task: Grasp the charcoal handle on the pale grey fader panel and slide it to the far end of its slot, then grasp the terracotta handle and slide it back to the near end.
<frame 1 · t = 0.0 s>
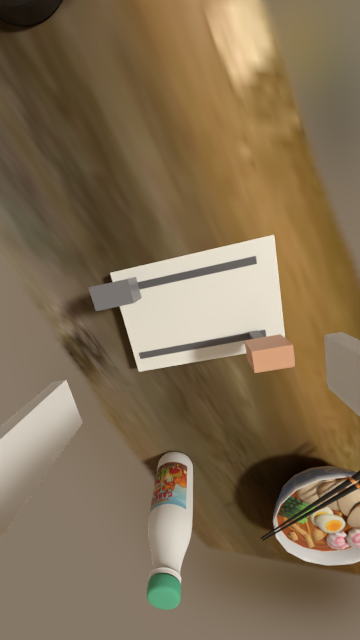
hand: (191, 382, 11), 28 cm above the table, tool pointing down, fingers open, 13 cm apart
fader b: (262, 345, 31), point 8 cm above the table, slide at 18.0 cm
fader panel: (199, 306, 38), on the table
ramen bowl: (314, 483, 47), on the table
fader a: (123, 290, 30), point 8 cm above the table, slide at 0.0 cm
milk bottle: (175, 463, 48), on the table
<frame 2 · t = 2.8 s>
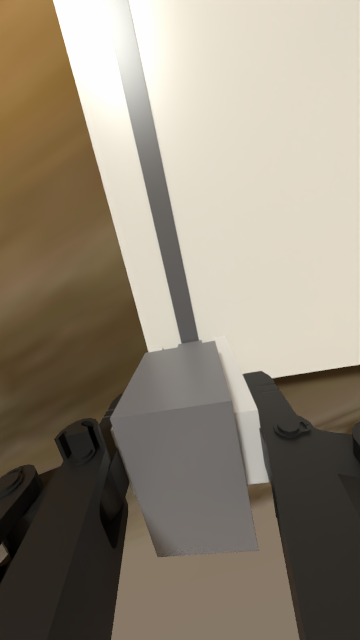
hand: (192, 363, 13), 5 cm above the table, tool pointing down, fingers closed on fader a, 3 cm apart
fader panel: (249, 184, 15), on the table
fader a: (191, 391, 10), point 8 cm above the table, slide at 0.0 cm, touching gripper
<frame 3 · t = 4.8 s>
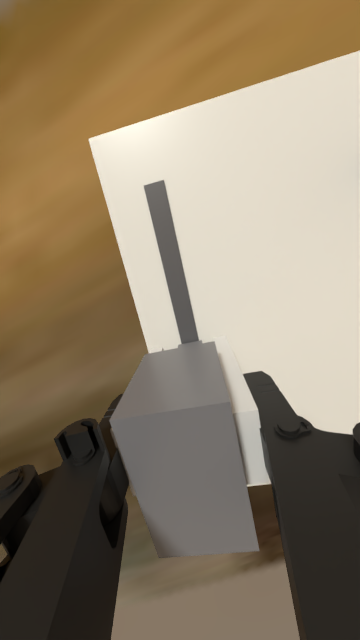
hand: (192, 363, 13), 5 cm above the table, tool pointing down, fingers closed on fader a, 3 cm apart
fader panel: (266, 316, 17), on the table
fader a: (191, 392, 10), point 8 cm above the table, slide at 9.5 cm, touching gripper
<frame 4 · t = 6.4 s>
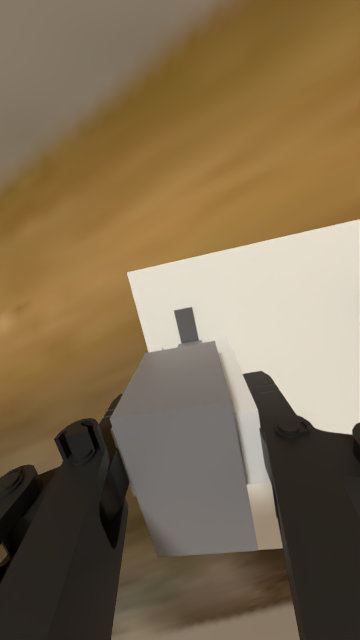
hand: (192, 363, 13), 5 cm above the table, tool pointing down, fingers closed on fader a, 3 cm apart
fader panel: (276, 398, 19), on the table
fader a: (191, 391, 10), point 8 cm above the table, slide at 16.9 cm, touching gripper
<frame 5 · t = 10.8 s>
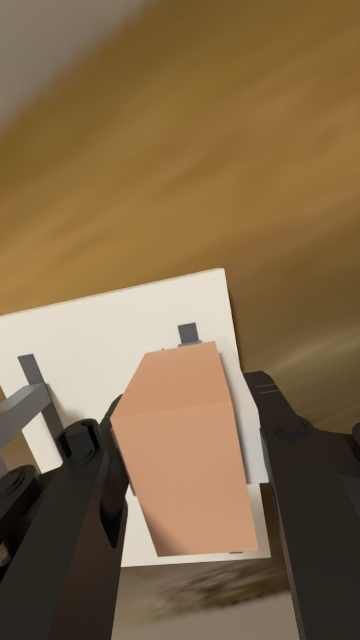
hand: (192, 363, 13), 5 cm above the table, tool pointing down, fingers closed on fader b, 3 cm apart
fader b: (191, 391, 10), point 8 cm above the table, slide at 18.0 cm, touching gripper
fader panel: (147, 427, 20), on the table
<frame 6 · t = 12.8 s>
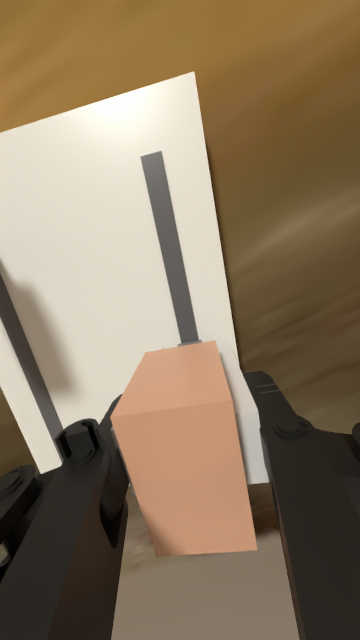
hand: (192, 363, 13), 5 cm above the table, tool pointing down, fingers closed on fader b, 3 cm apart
fader b: (191, 391, 10), point 8 cm above the table, slide at 8.1 cm, touching gripper
fader panel: (117, 327, 18), on the table
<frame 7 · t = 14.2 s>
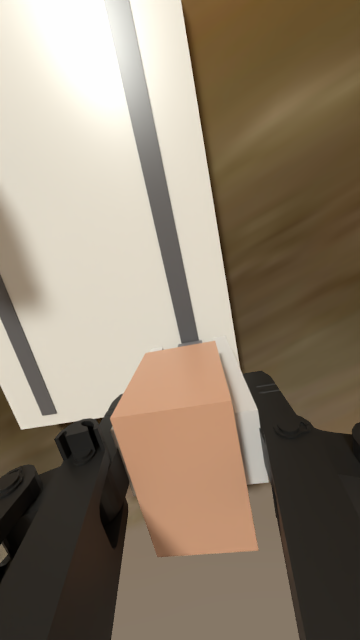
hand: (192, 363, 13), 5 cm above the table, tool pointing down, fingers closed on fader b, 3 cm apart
fader b: (191, 391, 10), point 8 cm above the table, slide at 1.1 cm, touching gripper
fader panel: (91, 242, 16), on the table
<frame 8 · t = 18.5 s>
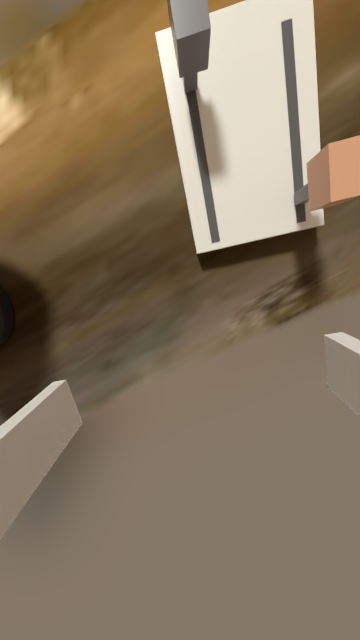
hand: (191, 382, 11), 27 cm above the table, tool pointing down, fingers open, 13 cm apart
fader b: (319, 186, 24), point 8 cm above the table, slide at 1.1 cm
fader panel: (240, 147, 31), on the table
fader a: (188, 48, 22), point 8 cm above the table, slide at 16.9 cm
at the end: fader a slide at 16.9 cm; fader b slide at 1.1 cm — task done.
